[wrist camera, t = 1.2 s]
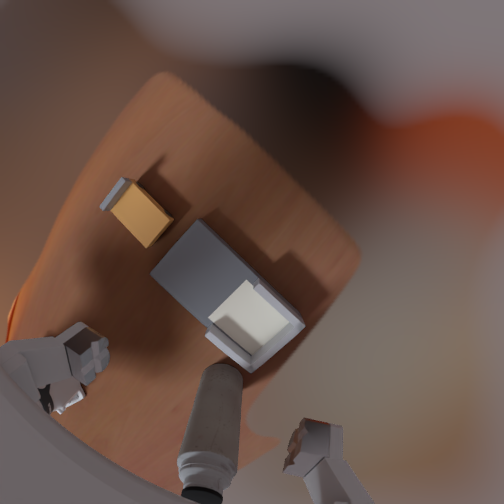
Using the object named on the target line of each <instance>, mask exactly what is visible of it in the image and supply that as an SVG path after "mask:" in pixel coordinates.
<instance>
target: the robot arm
mask: <svg viewBox="0 0 504 504" xmlns="http://www.w3.org/2000/svg"><path fill="white" fill-rule="evenodd" d="M108 345H109V343H108V339H107V338H106V337H104V336H103V335H101V334H99V333H98V332H96V331H95V330H93V329H92V328H90V327H89V326H87V325H85V324H84V323H82V322H77V323H76V324H74V325H73V326H71V327H70V328H68V329H67V330H65V331H64V332H63V333H61V334H60V335H58V336H57V337H55V338H54V337H53V336H52V337H43V338H34V339H24V340H14V341H9V342H7V343H6V344H4V345H3V346H1V347H0V504H200V503H197V502H194V501H192V500H189V499H186V498H184V497H182V496H179V495H177V494H174V493H172V492H170V491H168V490H165V489H163V488H161V487H159V486H157V485H155V484H153V483H151V482H149V481H147V480H145V479H143V478H141V477H139V476H137V475H135V474H133V473H132V472H130V471H128V470H126V469H124V468H123V467H121V466H119V465H118V464H116V463H114V462H113V461H111V460H109V459H108V458H106V457H105V456H103V455H102V454H100V453H99V452H97V451H96V450H94V449H93V448H91V447H90V446H88V445H87V444H86V443H84V442H83V441H81V440H80V439H79V438H77V437H76V436H75V435H73V434H72V433H71V432H69V431H68V430H67V429H66V428H64V427H63V426H62V425H61V424H59V423H58V422H57V421H56V420H55V419H53V418H52V417H51V416H50V414H51V412H53V411H57V412H58V413H59V414H61V413H63V412H64V410H65V408H66V407H68V406H70V405H72V404H74V403H76V402H78V401H80V400H82V399H83V398H84V397H85V393H84V391H83V389H82V387H81V385H80V382H81V383H83V384H84V385H86V386H87V385H88V384H89V383H90V382H92V381H93V380H94V379H95V378H96V373H97V372H102V371H103V370H104V369H105V368H106V367H107V365H108V363H109V359H110V353H109V351H108V349H107V348H106V347H107V346H108ZM287 450H288V452H289V455H288V456H287V458H286V459H285V464H284V468H283V473H287V474H291V475H295V476H300V477H304V478H303V479H304V481H305V484H306V486H307V488H308V491H309V493H310V495H311V497H312V500H313V502H314V504H374V501H373V500H372V498H371V497H370V495H369V494H368V493H367V491H366V490H365V488H364V487H363V485H362V484H361V482H360V481H359V479H358V478H357V476H356V475H355V473H354V472H353V470H352V469H351V468H350V466H349V464H348V463H347V461H346V460H342V456H343V427H342V426H341V425H335V424H330V423H327V422H322V421H317V420H312V419H308V418H303V419H302V420H301V422H300V425H299V428H298V429H295V431H294V432H293V434H292V436H291V439H290V441H289V445H288V449H287Z"/></svg>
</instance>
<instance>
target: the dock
mask: <svg viewBox="0 0 504 504" xmlns="http://www.w3.org/2000/svg"><path fill="white" fill-rule="evenodd" d="M150 275H151V276H152V277H153V278H154V279H155V280H156V281H157V282H158V283H159V284H160V285H161V286H162V287H163V288H164V289H165V290H166V291H167V292H169V293H170V294H171V295H172V296H173V297H174V298H175V299H176V300H177V301H178V302H179V303H180V304H181V305H182V306H183V307H185V308H186V309H187V310H188V311H189V312H190V313H191V314H192V315H193V316H194V317H196V318H197V319H198V320H199V321H200V322H201V323H202V324H203V325H205V326H206V327H207V331H206V333H205V337H206V338H208V339H209V340H210V341H211V342H212V343H213V344H215V345H216V346H217V347H218V348H219V349H221V350H222V351H223V352H224V353H225V354H227V355H228V356H229V357H230V358H232V359H233V360H234V361H235V362H237V363H238V364H239V365H240V366H242V367H243V368H244V369H245V370H247V371H248V372H249V373H253V372H254V371H255V370H256V369H258V368H259V367H260V366H261V365H262V364H264V363H265V362H266V361H267V360H268V359H270V358H271V357H272V356H273V355H274V354H275V353H277V352H278V351H279V350H280V349H281V348H282V347H284V346H285V345H286V344H287V343H288V342H289V341H290V340H291V339H293V338H294V337H295V336H296V335H297V334H298V333H299V332H300V331H301V330H303V329H304V328H305V327H306V326H305V323H304V321H303V319H302V316H301V314H300V312H299V311H298V310H297V309H296V308H294V307H293V306H292V305H291V304H290V303H289V302H288V301H287V300H286V299H285V298H284V297H283V296H282V295H281V294H280V293H279V292H277V291H276V290H275V289H274V288H273V287H272V286H271V285H270V284H269V283H268V282H267V281H266V280H265V279H264V278H263V277H262V276H261V275H260V274H258V273H257V272H256V271H255V270H254V269H253V268H252V267H251V266H250V265H249V264H248V263H247V262H246V261H245V260H244V259H243V258H242V257H241V256H240V255H239V254H237V253H236V252H235V251H234V250H233V249H232V248H231V247H230V246H229V245H228V244H227V243H226V242H225V241H224V240H223V239H222V238H221V237H220V236H219V235H218V234H217V233H216V232H215V231H213V230H212V229H211V228H210V227H209V226H208V225H207V224H206V223H205V222H204V221H203V220H202V219H197V220H196V221H195V222H194V223H193V225H192V226H191V227H190V228H189V229H188V230H187V231H186V232H185V233H184V235H183V236H182V237H181V238H180V239H179V240H178V241H177V242H176V243H175V245H174V246H173V247H172V248H171V249H170V250H169V251H168V253H167V254H166V255H165V256H164V257H163V258H162V260H161V261H160V262H159V263H158V264H157V265H156V267H155V268H154V269H153V270H152V271H151V272H150Z"/></svg>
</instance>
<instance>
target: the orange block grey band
mask: <svg viewBox="0 0 504 504" xmlns="http://www.w3.org/2000/svg"><path fill="white" fill-rule="evenodd" d="M144 189H145V188H144V187H143V186H142V185H141V184H140V183H138V182H136V181H135V180H133V179H129V178H124V177H121V179H120V180H119V181H118V182H117V184H116V185H115V186H114V188H113V189H112V190H111V192H110V193H109V194H108V196H107V197H106V198H105V200H104V201H103V202H102V204H101V205H100V208H101V209H102V210H103V211H111V212H112V213H113V214H114V215H115V216H116V217H117V218H118V219H119V220H120V221H121V222H122V224H123V225H124V226H125V227H126V228H127V229H128V230H129V231H130V232H131V233H132V234H133V235H134V236H135V237H136V238H137V239H138V240H139V241H140V242H141V243H142V245H143V246H144V247H145V248H148V247H151V246H152V245H153V244H154V243H155V242H156V240H157V239H158V238H159V237H160V236H161V235H162V233H163V232H164V231H165V230H166V229H167V228H168V226H169V225H170V224H171V223H172V222H173V221H174V219H173V217H172V215H171V214H170V213H169V212H168V211H167V210H165V209H163V208H162V207H161V206H160V205H159V204H158V203H157V202H156V201H155V200H154V199H153V198H152V197H151V196H150V195H149V194H148V193H147V192H146V191H145V190H144Z"/></svg>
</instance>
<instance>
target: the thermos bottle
mask: <svg viewBox="0 0 504 504" xmlns="http://www.w3.org/2000/svg"><path fill="white" fill-rule="evenodd" d="M242 389H243V378H242V375H241V374H240V372H239V371H238V370H237V369H236V368H234V367H232V366H230V365H227V364H214V365H211V366H209V367H208V368H206V369H205V371H204V372H203V374H202V377H201V380H200V384H199V388H198V391H197V394H196V397H195V401H194V405H193V409H192V412H191V415H190V418H189V421H188V424H187V428H186V431H185V434H184V438H183V441H182V445H181V448H180V452H179V455H178V459H177V465H178V467H179V478H180V479H181V481H182V482H183V483H184V485H183V490H182V494H181V496H182V497H184V498H186V499H189V500H192V501H194V502H197V503H200V504H221V503H222V501H223V497H222V493H223V490H225V489H226V488H228V487H229V486H230V484H231V481H232V478H233V477H234V476H235V475H236V473H237V467H238V451H239V436H240V420H241V404H242Z"/></svg>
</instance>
